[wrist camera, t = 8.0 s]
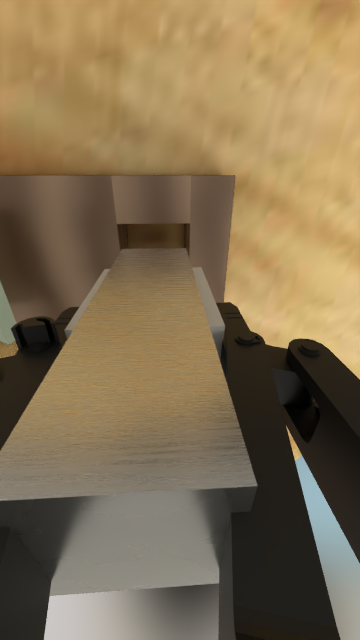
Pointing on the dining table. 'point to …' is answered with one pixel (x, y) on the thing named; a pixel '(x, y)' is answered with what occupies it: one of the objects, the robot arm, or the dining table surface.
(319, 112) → the dining table surface
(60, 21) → the dining table surface
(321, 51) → the dining table surface
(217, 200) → the walnut block
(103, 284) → the steel pin
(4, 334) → the plate
